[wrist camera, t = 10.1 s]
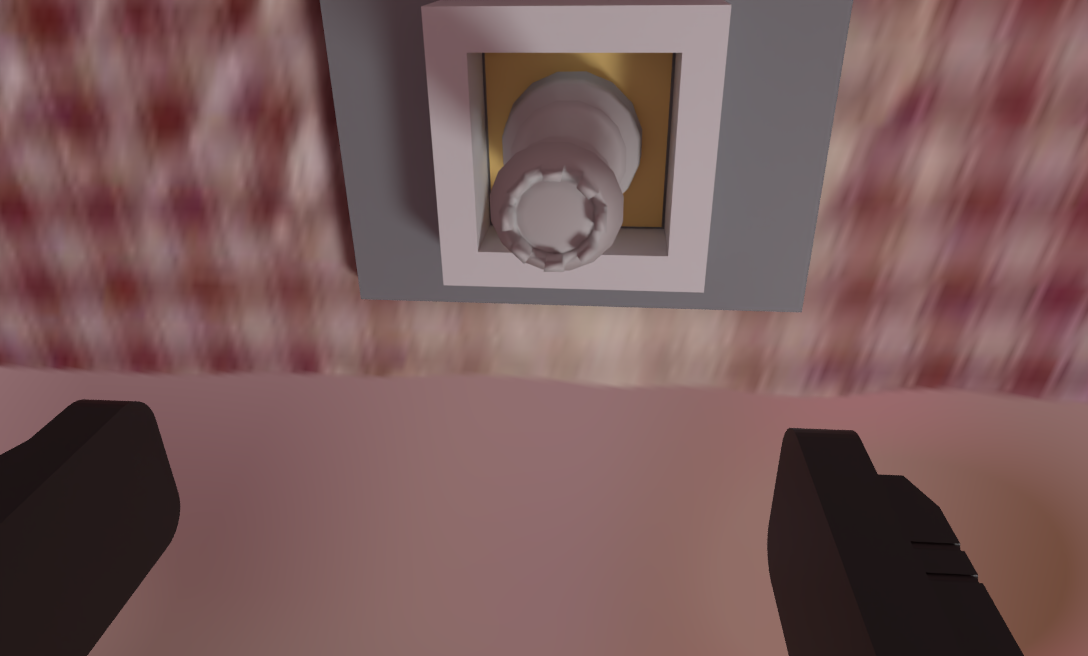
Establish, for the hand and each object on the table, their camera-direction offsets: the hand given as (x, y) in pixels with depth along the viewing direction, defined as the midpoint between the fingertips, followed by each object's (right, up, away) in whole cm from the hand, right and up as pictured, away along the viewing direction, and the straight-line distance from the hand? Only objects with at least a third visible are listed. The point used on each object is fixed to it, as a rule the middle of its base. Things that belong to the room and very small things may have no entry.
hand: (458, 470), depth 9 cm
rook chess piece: (+2, +8, +15) cm, 17 cm away
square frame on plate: (+2, +9, +16) cm, 18 cm away
